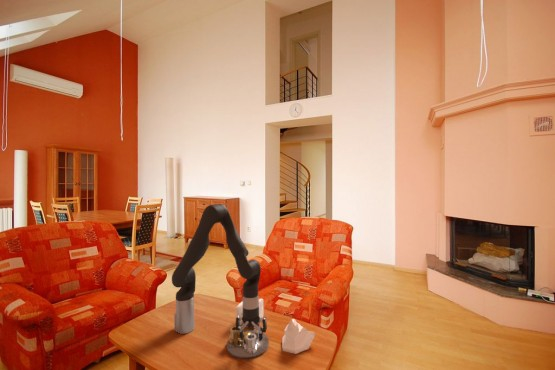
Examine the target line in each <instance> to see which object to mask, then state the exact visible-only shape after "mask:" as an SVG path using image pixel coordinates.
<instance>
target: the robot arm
mask: <svg viewBox="0 0 555 370" xmlns="http://www.w3.org/2000/svg"><path fill="white" fill-rule="evenodd" d="M228 209H229V208H227V206H226V205H225V204H223V203H215V204H209V205H208V206H206V207H205V208H204V209H203V212H202V215H201V217H200V219H199V224H198V225H197V228H196V230H195V232H194V235H193V236H192V238H191V240H190V242H189V244H188V246H187V248H186V251H185V252H184V254H183V256H182V257H181V259H180V262H179V263H178V265H177V266H176V268H175V270H174V271H173V273H172V275H171V284H172V285H173V287H174V288H179V289H178V290H177V292H176V293H175V312H174V317H173V318H174V320H173V321H174V332H175V331H176V332H175V333H177V332H178V334H179V333H180V335H185V334H189V333H191V332H192V331H194V329H195V292H196V281H197V280H196V270H195V269H194V268H193V267H194V266H195V265H197V263H199V261H201V259H202V258H203V257H204V256H205V254H206V252H207V250H208V248H209V246H210V232H211V231H212V229H213V227H214V226H215V225H216V224H218V223H220V224H221V226H222V228H223V230H224V231H225V237H226V244H227V247H228V250H229V251H230V253H231V255H232V256H233V258H234V260H235V264H236V267H237V270H238V271H237V272H238V273H239V275H240V276H241V277H242V278H243V279H244V280H245V282H243V285H242V301H243V317H240V315H238V316H237V318H236V317H235V326H236V330H238V331H239V332H240V338H241V340H243V338H244V331H245V330H244V329H245V328H253V329H255V328H256V330H258V331H259V341H261V340H262V338H263V333H264V334H265V333H266V332H267V329H268V326H267V317H266V316H263V318H260V317H259V299H260V297H259V283H260V278H261V263H259V261H258V260H257V259H251V260H248V255H249V250H248V248H247V246H245V244H244V241H243V240H242V238H241V237H240V235H239V232H238V231H237V227H236V226H235V223H234V221H233V219H232V216H231V213H230V211H229V210H228ZM241 320H242V321H243V324H242V325H241V326H240V321H241ZM259 321H260V322H261V323H260V322H259ZM261 324H262V326H261ZM254 327H255V328H254Z"/></svg>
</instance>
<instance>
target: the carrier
mask: <svg viewBox="0 0 555 370" xmlns="http://www.w3.org/2000/svg"><path fill="white" fill-rule="evenodd" d="M248 334H255V335H256V343H257V344H258V346H259V349H258V352H256V353H254V354H253V353H252V354H247V353H245V352H244V346H245V344H246V336H247V335H248ZM269 345H270V343H269V337H268V336H267V335H266V334H265V333H264V332H263V338H262V340H261V341H259V331H258V330H256V328H254V330H253V329H246V330H244V338H243V340H242V342H241V343H240V344H238V345H234V344H233V345H231V344H229V339H228V340H227V342H226V351H227V352H228V354H230V355H231V357H234V358H236V359H242V360H249V359H255V358H258V357H260V356H261V355H263V354H264V353H265V352H266V351H267V350H268V348H269Z"/></svg>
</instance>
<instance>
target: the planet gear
mask: <svg viewBox="0 0 555 370" xmlns="http://www.w3.org/2000/svg"><path fill="white" fill-rule="evenodd" d="M258 349H259V346H258V344H257V343H256V335H255V334H248V335H247V336H246V344H245V346H244V352H245V353H247V354H252V353H253V354H254V353H256V352H258Z"/></svg>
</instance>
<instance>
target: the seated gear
mask: <svg viewBox="0 0 555 370" xmlns="http://www.w3.org/2000/svg"><path fill="white" fill-rule="evenodd" d="M229 331H230V333H229V334H230V335H229V336H228V340H229V344H231V345H233V344H234V345H238V344H240V343H241V342H242V340H241V338H240V332H239V331H238V330H236V325H234V326H231V327H230V328H229Z"/></svg>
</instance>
